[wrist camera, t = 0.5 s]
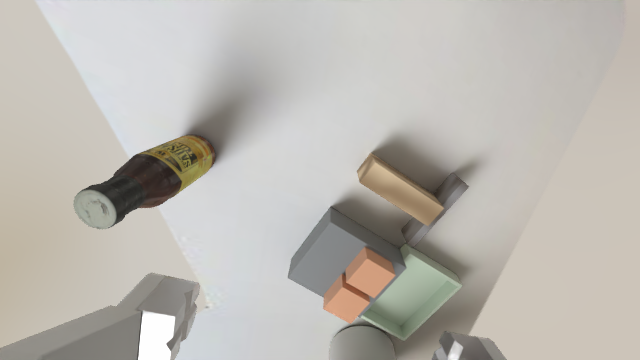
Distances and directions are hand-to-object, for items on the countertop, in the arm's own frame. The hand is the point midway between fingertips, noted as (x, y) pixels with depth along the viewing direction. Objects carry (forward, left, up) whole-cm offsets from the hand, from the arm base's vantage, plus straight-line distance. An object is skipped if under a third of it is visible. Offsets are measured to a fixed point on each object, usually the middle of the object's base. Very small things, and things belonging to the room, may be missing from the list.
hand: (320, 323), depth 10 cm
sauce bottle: (+15, -15, -36) cm, 41 cm away
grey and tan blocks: (+2, +13, -36) cm, 38 cm away
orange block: (+20, +16, -30) cm, 40 cm away
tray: (+17, +27, -35) cm, 47 cm away
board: (+17, +14, -35) cm, 42 cm away
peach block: (+14, +16, -30) cm, 37 cm away
